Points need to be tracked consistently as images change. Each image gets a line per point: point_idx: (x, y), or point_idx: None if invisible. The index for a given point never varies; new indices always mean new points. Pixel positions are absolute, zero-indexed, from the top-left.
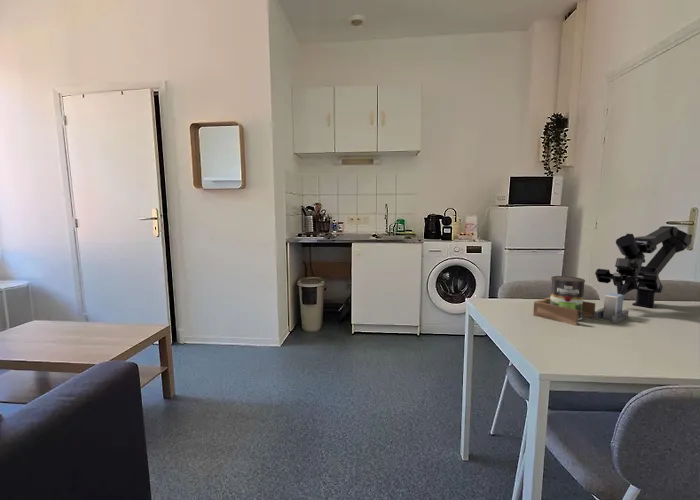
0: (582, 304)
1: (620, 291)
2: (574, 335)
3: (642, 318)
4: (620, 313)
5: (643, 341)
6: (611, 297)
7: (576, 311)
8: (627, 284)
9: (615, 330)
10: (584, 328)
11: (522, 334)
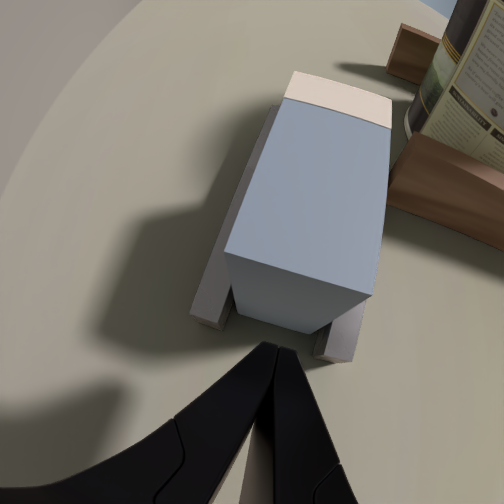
0: (434, 77)
1: (264, 382)
2: (352, 14)
3: (118, 339)
4: (251, 172)
5: (198, 27)
6: (334, 87)
7: (401, 25)
8: (109, 488)
9: (268, 61)
10: (355, 50)
11: (421, 12)
